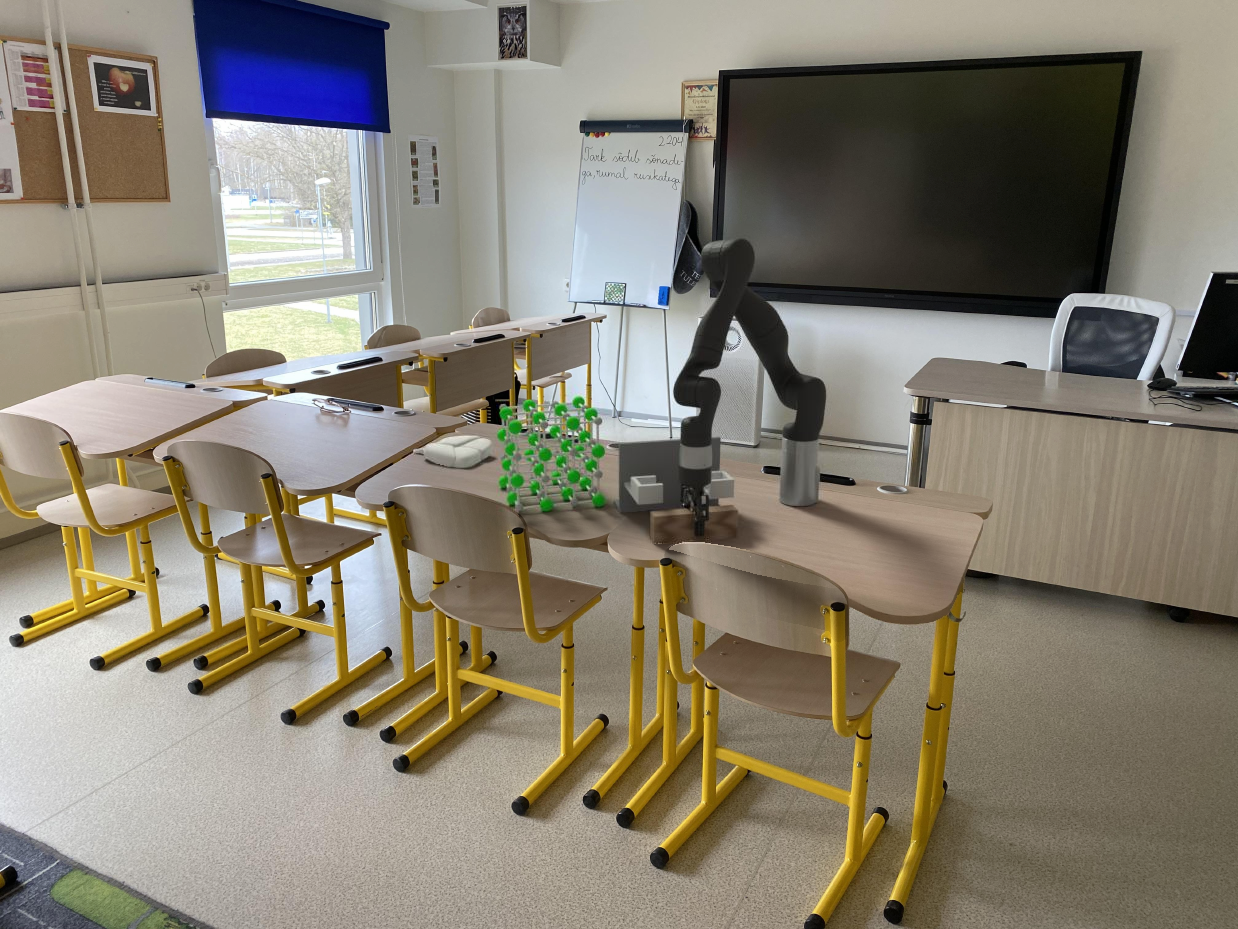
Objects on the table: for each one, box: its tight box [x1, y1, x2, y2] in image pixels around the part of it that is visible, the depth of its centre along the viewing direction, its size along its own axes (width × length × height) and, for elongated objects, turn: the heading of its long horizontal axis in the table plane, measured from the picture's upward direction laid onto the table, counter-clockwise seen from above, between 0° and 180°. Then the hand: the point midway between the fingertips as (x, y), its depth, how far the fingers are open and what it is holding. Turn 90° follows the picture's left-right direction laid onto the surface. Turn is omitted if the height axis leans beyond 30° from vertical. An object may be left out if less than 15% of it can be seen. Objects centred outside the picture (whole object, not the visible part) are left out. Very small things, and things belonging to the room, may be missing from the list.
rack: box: [613, 436, 735, 514], centre depth 227 cm, size 26×21×18 cm
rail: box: [649, 504, 739, 545], centre depth 213 cm, size 20×4×7 cm, turn 103°
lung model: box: [412, 435, 494, 469], centre depth 277 cm, size 7×17×25 cm
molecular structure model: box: [496, 395, 606, 512], centre depth 239 cm, size 24×25×24 cm
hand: (693, 529), depth 213 cm, fingers open, 8 cm apart
